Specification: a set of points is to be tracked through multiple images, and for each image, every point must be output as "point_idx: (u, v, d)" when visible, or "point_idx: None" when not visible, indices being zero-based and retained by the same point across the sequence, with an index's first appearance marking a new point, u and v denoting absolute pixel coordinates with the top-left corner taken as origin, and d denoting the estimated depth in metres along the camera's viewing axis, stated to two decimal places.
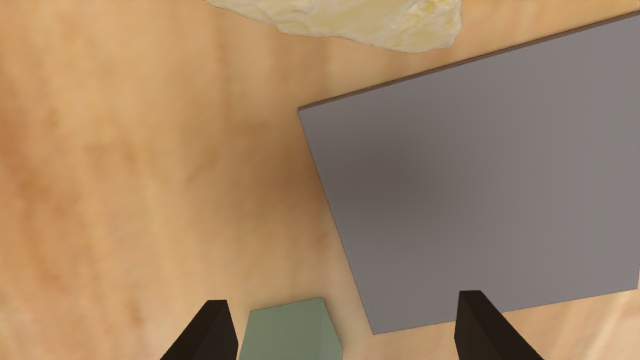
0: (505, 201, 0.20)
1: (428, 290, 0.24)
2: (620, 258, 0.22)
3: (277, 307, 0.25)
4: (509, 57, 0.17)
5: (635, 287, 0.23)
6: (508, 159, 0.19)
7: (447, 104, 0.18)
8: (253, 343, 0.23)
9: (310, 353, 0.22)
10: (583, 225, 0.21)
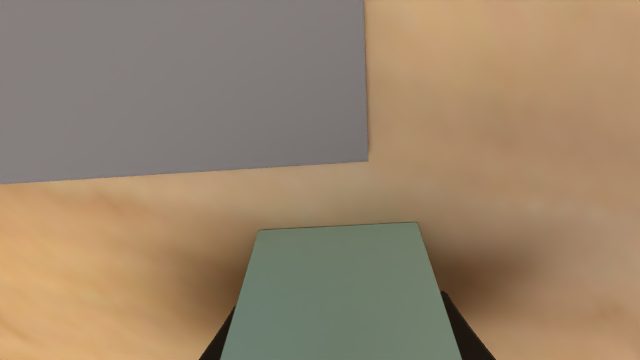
0: None
1: (228, 2, 0.09)
2: None
3: None
4: None
5: None
6: None
7: None
8: None
9: None
10: None
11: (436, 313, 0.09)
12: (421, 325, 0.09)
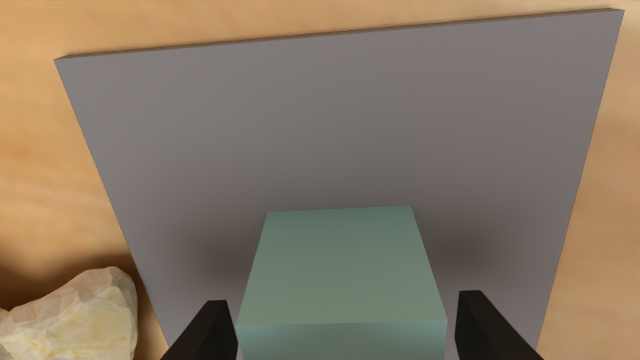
0: None
1: None
2: (514, 59, 0.11)
3: None
4: (129, 232, 0.14)
5: (617, 15, 0.10)
6: None
7: (185, 288, 0.16)
8: None
9: None
10: (407, 134, 0.12)
11: (425, 279, 0.10)
12: (412, 288, 0.10)
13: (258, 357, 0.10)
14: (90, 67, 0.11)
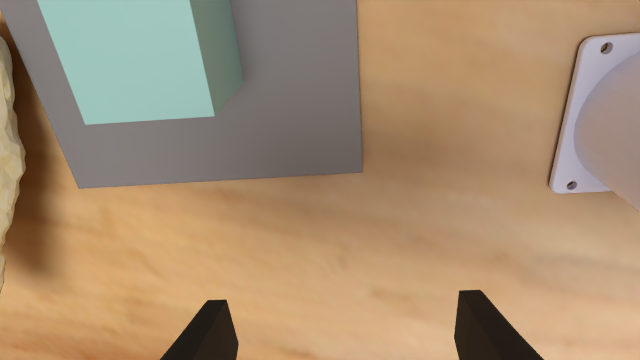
0: None
1: (298, 100, 0.19)
2: None
3: None
4: (1, 0, 0.17)
5: None
6: None
7: (56, 62, 0.19)
8: None
9: None
10: None
11: None
12: None
13: (53, 12, 0.13)
14: None
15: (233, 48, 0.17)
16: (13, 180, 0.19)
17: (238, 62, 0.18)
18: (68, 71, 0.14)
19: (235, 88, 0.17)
